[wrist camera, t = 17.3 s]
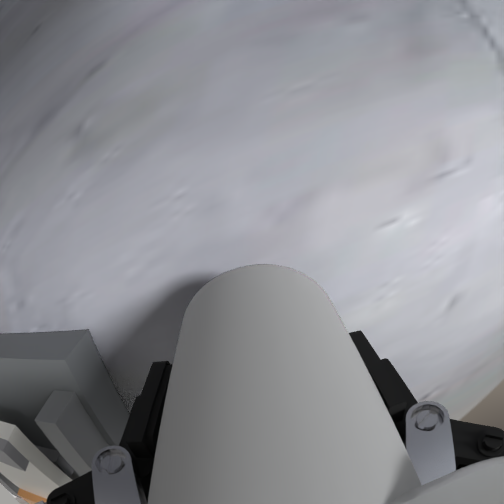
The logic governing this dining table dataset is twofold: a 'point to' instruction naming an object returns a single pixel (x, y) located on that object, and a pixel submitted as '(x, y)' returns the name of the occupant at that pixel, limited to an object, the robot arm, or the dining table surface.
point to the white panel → (27, 466)
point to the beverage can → (273, 402)
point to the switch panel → (59, 398)
